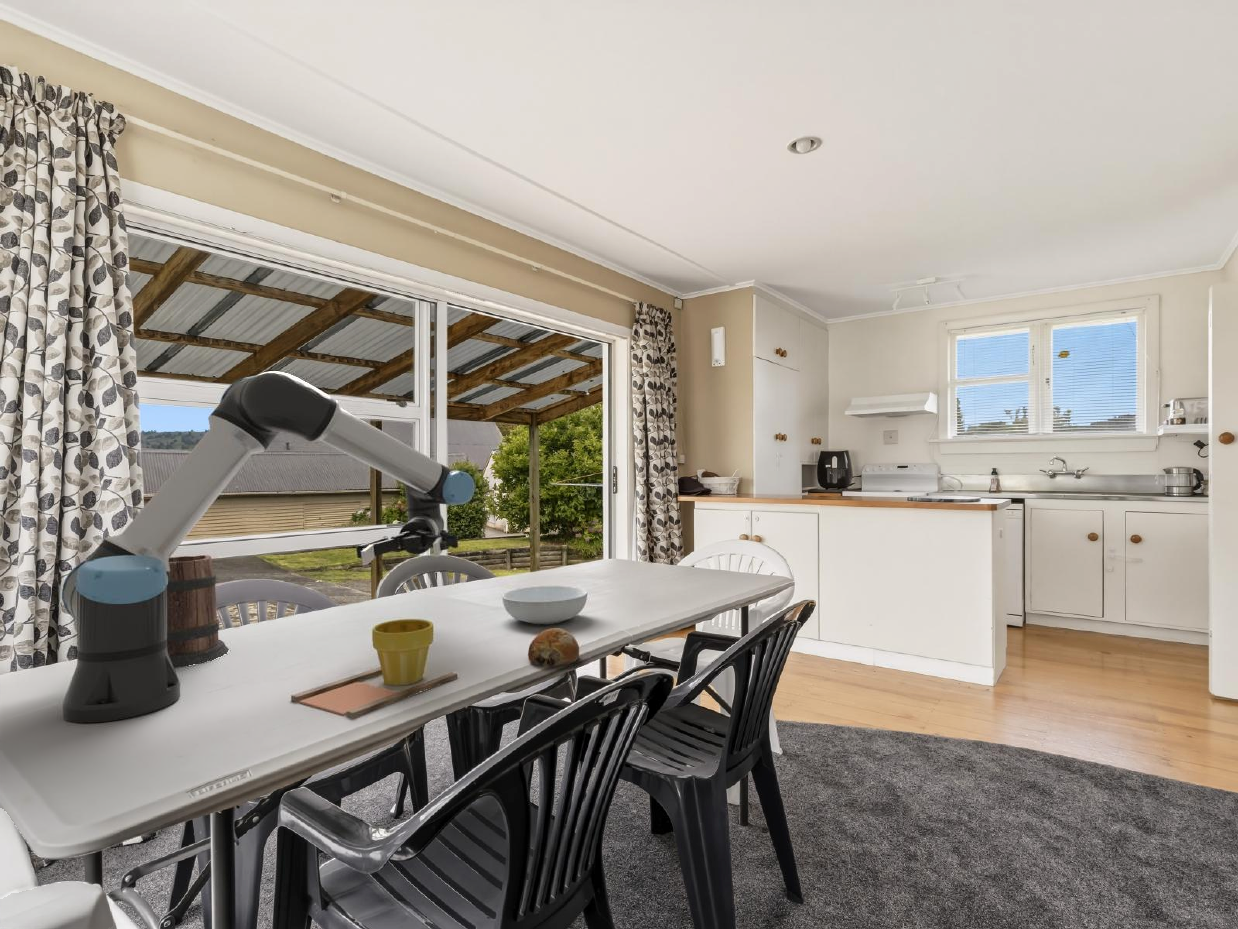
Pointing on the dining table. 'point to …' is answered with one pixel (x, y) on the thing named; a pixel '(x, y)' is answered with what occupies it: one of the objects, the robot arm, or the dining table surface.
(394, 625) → the plant pot
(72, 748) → the dining table surface
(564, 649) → the bread roll
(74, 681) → the robot arm
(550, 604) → the serving bowl
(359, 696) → the terracotta mat
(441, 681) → the walnut track
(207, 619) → the tankard
